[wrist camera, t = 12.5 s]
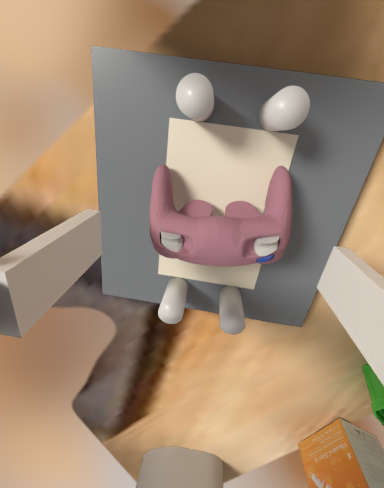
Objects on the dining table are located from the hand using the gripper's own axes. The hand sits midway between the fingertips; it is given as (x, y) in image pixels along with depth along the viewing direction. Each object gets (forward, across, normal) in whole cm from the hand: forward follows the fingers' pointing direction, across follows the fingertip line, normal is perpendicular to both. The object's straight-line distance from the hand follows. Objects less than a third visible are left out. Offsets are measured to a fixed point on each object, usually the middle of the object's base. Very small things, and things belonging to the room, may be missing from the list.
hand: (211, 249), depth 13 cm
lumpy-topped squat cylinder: (+8, +2, -44) cm, 44 cm away
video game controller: (+7, 0, +1) cm, 7 cm away
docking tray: (+8, 0, 0) cm, 8 cm away
